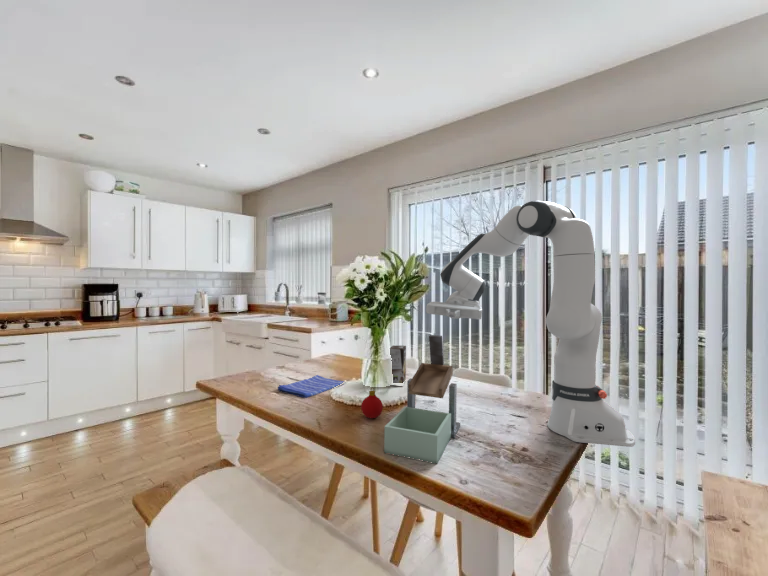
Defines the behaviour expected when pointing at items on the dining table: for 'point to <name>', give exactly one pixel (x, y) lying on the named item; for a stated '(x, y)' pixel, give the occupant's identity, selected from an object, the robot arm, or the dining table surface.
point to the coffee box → (398, 363)
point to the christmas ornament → (372, 405)
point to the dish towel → (309, 386)
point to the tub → (418, 434)
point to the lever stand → (452, 406)
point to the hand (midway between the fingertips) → (451, 315)
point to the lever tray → (432, 372)
